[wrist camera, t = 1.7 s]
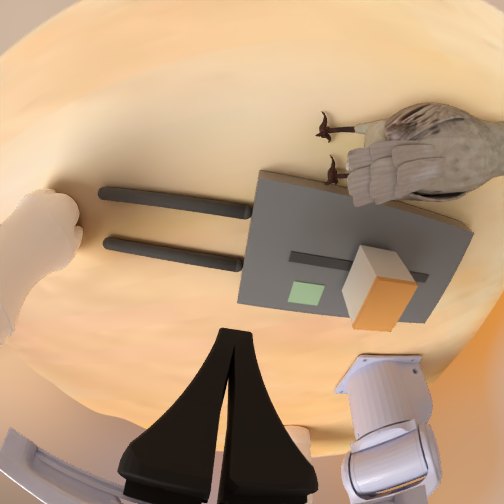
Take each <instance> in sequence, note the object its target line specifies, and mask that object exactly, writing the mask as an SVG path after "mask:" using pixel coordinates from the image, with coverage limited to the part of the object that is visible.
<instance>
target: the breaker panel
mask: <svg viewBox="0 0 504 504" xmlns="http://www.w3.org/2000/svg"><path fill="white" fill-rule="evenodd" d="M325 184H326V183H323V182H318V181H313V180H309V179H304V178H299V177H294V176H289V175H283V174H278V173H272V172H267V171H261V170H259V176H258V182H257V188H256V193H255V199H254V205H253V211H252V216H251V222H250V228H249V234H248V240H247V245H246V251H245V257H244V263H243V269H242V275H241V281H240V287H239V294H238V301H237V303H239V304H245V305H252V306H259V307H265V308H273V309H280V310H287V311H295V312H303V313H311V314H320V315H329V316H338V317H348V318H350V316H349V313H348V309H347V306H346V303H345V300H344V296H343V293H342V289H343V286H344V284H345V282H346V279H347V277H348V274H349V272H350V269H351V267H352V264H353V262H354V259H355V257H356V254H357V252H358V249H359V246H360V245H364V246H369V247H374V248H379V249H384V250H389V251H394V252H396V253H397V254H398V256H399V257H400V259H401V260H402V262H403V263H404V265H405V266H406V268H407V269H408V271H409V272H410V274H411V275H412V277H413V279H414V280H415V282H416V283H417V285H418V287H417V289H416V291H415V292H414V294H413V296H412V298H411V300H410V301H409V303H408V305H407V306H406V308H405V310H404V312H403V313H402V315H401V317H400V318H399V320H398V321H397V322H409V323H425V322H426V320H427V319H428V317H429V316H430V314H431V313H432V311H433V310H434V308H435V306H436V305H437V303H438V302H439V300H440V298H441V297H442V295H443V293H444V291H445V290H446V288H447V286H448V284H449V283H450V281H451V279H452V277H453V275H454V274H455V272H456V270H457V268H458V266H459V264H460V262H461V260H462V258H463V256H464V254H465V252H466V250H467V248H468V246H469V243H470V241H471V239H472V237H473V235H474V232H472V231H471V230H470V229H469V228H468V227H467V226H466V225H465V224H463V223H462V222H460V221H457V220H454V219H451V218H448V217H445V216H442V215H440V214H436V213H433V212H430V211H427V210H424V209H421V208H418V207H414V206H411V205H408V204H404V203H401V202H398V201H394V200H390V201H387V202H385V203H382V204H378V205H376V204H375V202H372V203H369V204H366V205H364V206H359V207H355V206H354V203H353V197H352V196H351V195H350V194H349V191H348V188H344V187H340V186H336V185H332V184H329V185H325Z"/></svg>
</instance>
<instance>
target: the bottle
mask: <svg viewBox="0 0 504 504" xmlns="http://www.w3.org/2000/svg"><path fill="white" fill-rule="evenodd" d="M284 427H285V429H286V430H287V432H288V433H289V435H290V437H291V438H292V440H293V441H294V443H295V444H296V446H297V447H298V448H299V450H300V451H301V453H302V454H303V455H304V456H305V458H306V459H307V460H308V461H309V463H310V464H311V451H310V447H311V440H310V433H309V430H308V429H306V428H305V427H301V426H294V425H286V426H284ZM305 504H312V494H310V495H307V503H305Z"/></svg>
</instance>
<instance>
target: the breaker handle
mask: <svg viewBox="0 0 504 504" xmlns="http://www.w3.org/2000/svg"><path fill="white" fill-rule="evenodd" d="M417 287H418V285H417V283H416V282H415V280H414V279H413V277H412V275H411V274H410V272H409V271H408V269H407V268H406V266H405V265H404V263H403V262H402V260H401V259H400V257H399V256H398V254H397V253H396V252H394V251H389V250H384V249H379V248H374V247H369V246H364V245H360V246H359V249H358V252H357V254H356V257H355V259H354V262H353V264H352V267H351V269H350V272H349V274H348V277H347V279H346V282H345V284H344V286H343V289H342V293H343V296H344V300H345V303H346V306H347V309H348V313H349V316H350V319H351V323H352V326H353V329H357V330H371V331H387V332H391V331H392V329H393V328H394V326H395V325H396V323H397V321H398V320H399V318H400V317H401V315H402V313H403V312H404V310H405V308H406V306H407V305H408V303H409V301H410V300H411V298H412V296H413V294H414V292H415V291H416V289H417Z"/></svg>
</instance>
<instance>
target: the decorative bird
mask: <svg viewBox="0 0 504 504" xmlns="http://www.w3.org/2000/svg"><path fill="white" fill-rule="evenodd" d="M321 112H322V111H321ZM322 113H323V112H322ZM323 115H324V119H323V122H322V124H321V125H320V127H319V130H320V133H319V134H317V135H316V136H319V137H320V136H321V137H322V138H327V139H328V140H329V141H328V143H329V142H330V141H331V137H330V135H329V134H328V133H336V132H356V133H360V134H365V135H366V136H365V143H364V148H358V149H354V150H351V151H349V153H348V161H347V163H346V170H351V173H348V174H337V170H336V169H335V161H334V159H333V157H332V156H331V155H330V156H331V158H332V164H331V167H330V169H329V170H328V182H327V183H326V184H325V185H329V184H331V183H335V185H337V183H338V180H337V178H347V184H348V191H349V194H350V195H351V196H352V197H353V203H354V206H355V207H359V206H364V205H366V204H369V203H372V202H375V204H376V205H378V204H382V203H385V202H387V201H390V200H417V201H433V202H443V201H450V200H455V199H458V198H460V197H462V196H464V195H465V194H466V193H468V192H469V191H472V190H475V189H476V188H478V187H479V186H481V185H483V184H484V183H486V182H487V181H489V180H490V179H492V178H493V177H497V176H501V175H504V122H494V123H493V122H488V121H483V120H480V119H478V118H475V117H473V116H471V115H470V114H469V113H467V112H465V111H463V110H461V109H458V108H455V107H452V106H449V105H444V104H438V103H421V104H416V105H413V106H410V107H407V108H405V109H403V110H401V111H400V112H398V113H396V114H395V115H393V116H392V117H390V118H389V119H384V120H379V121H375V122H371V123H365V124H359V125H356V126H355V127H339V128H330V127H329V126H327V117H326V115H325V113H323ZM326 126H327V127H326Z"/></svg>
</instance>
